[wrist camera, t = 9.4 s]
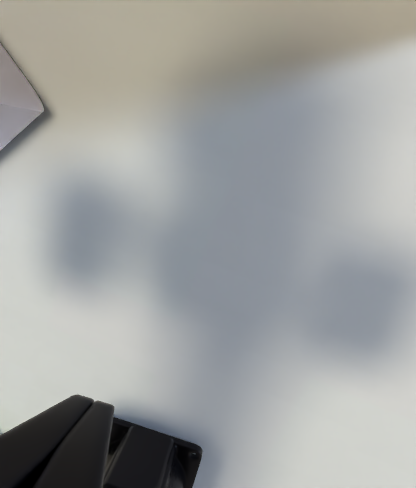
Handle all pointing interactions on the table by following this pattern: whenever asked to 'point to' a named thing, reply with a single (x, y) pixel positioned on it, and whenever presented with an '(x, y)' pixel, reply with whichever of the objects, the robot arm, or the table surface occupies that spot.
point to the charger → (15, 100)
